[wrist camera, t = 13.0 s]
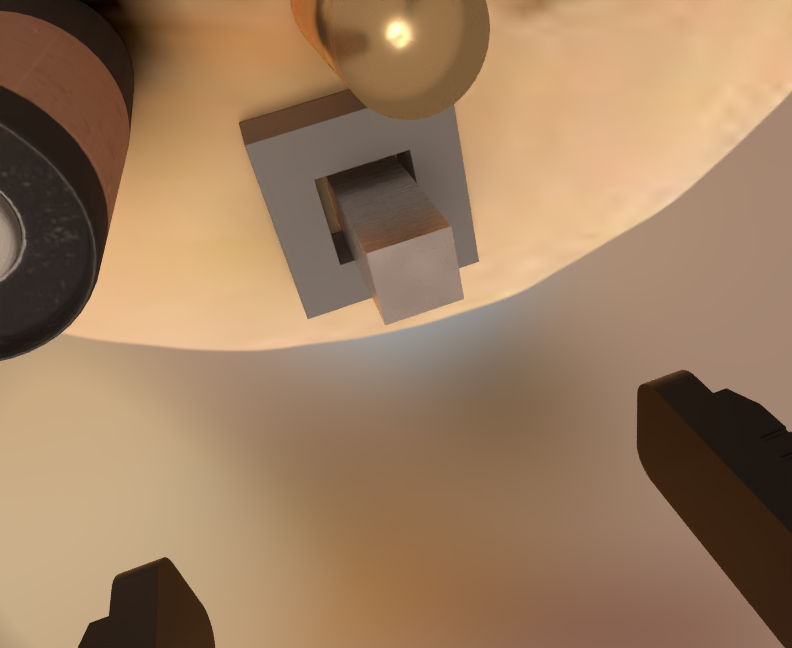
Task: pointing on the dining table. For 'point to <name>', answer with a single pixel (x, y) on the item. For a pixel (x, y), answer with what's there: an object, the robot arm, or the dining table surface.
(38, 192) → the travel mug
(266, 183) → the socket block
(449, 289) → the square bit
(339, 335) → the dining table surface
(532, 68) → the dining table surface
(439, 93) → the round bit
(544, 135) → the dining table surface
